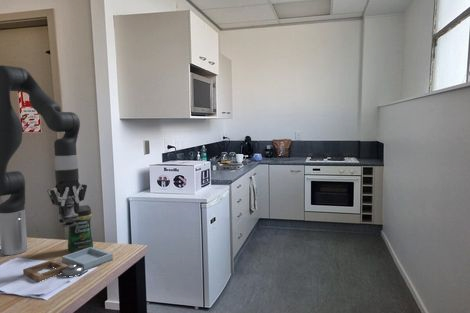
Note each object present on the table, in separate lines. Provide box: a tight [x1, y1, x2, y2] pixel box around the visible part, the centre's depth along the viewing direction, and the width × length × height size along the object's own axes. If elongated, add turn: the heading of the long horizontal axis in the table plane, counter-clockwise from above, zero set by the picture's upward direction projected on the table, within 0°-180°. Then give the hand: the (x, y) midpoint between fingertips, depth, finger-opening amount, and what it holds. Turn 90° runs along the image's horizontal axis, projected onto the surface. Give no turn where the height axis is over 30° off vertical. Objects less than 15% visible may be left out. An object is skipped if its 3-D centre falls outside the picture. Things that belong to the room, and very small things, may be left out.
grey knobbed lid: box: [61, 264, 85, 278], centre depth 121 cm, size 7×7×3 cm
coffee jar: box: [67, 204, 94, 253], centre depth 143 cm, size 10×8×19 cm
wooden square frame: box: [22, 259, 69, 283], centre depth 121 cm, size 10×10×2 cm
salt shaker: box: [60, 195, 78, 228], centre depth 125 cm, size 6×6×12 cm
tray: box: [61, 247, 114, 272], centre depth 131 cm, size 14×12×2 cm
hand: (69, 214), depth 125 cm, fingers closed on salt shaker, 4 cm apart
